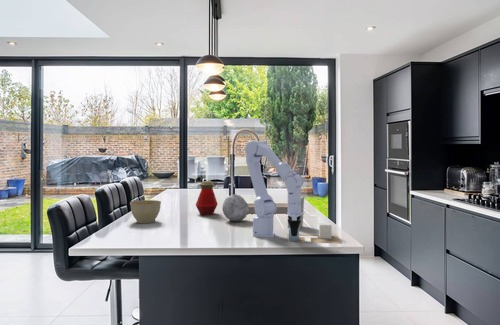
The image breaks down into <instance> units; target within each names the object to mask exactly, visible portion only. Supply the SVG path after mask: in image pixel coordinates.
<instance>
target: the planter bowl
mask: <svg viewBox="0 0 500 325" xmlns="http://www.w3.org/2000/svg"><path fill="white" fill-rule="evenodd" d="M161 204H162V201H161V200H154V199H149V200H148V199H147V200H146V199H145V200H144V199H143V200H136V201H135V200H134V201H131V202H129V205H130V211H131V214H132V216H133V218H134V220H136V223H138V224H151V223H154V222H156V220H157V217H158V216H159V213H160V212H161Z"/></svg>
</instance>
